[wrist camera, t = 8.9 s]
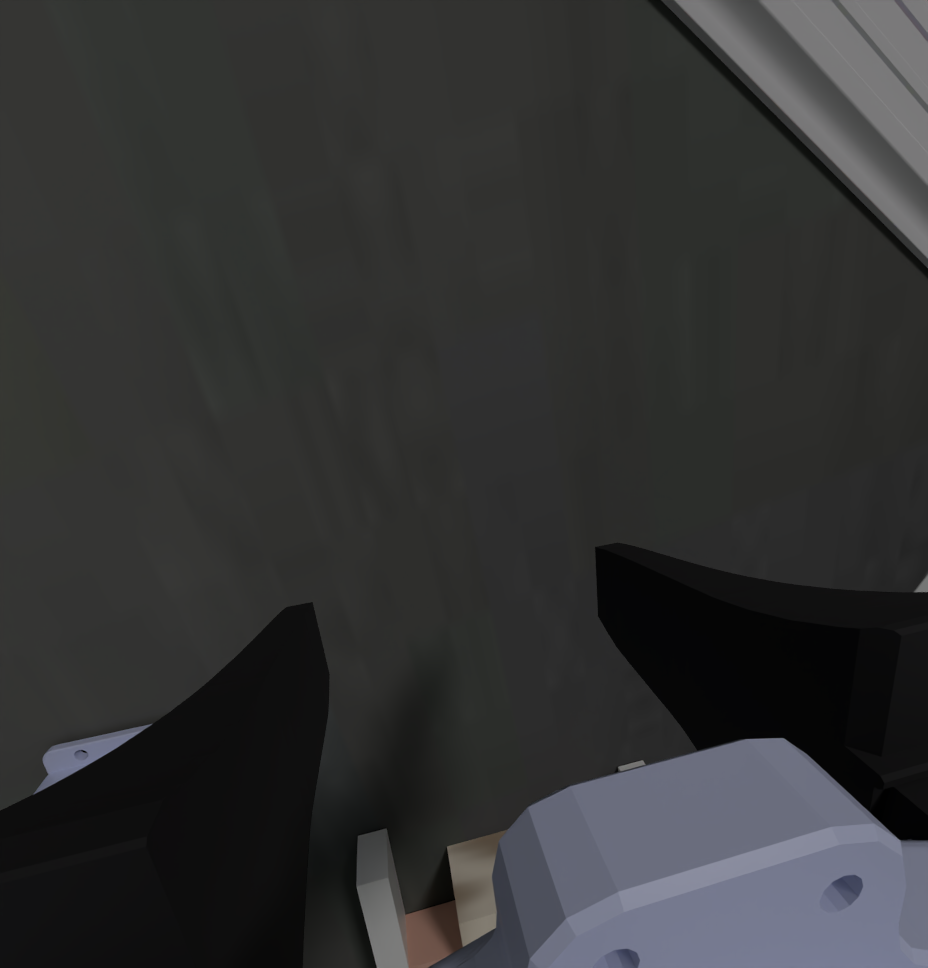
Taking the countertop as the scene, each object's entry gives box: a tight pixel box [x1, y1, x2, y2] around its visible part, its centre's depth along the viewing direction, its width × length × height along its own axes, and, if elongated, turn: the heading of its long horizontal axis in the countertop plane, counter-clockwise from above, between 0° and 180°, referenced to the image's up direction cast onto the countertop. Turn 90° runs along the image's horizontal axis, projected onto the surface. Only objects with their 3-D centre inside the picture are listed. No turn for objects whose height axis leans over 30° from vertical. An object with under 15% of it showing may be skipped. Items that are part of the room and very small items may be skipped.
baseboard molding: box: [661, 0, 928, 268], centre depth 19 cm, size 31×3×12 cm
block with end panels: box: [356, 760, 645, 968], centre depth 26 cm, size 16×8×2 cm, turn 97°
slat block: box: [447, 830, 507, 947], centre depth 26 cm, size 10×4×4 cm, turn 97°
